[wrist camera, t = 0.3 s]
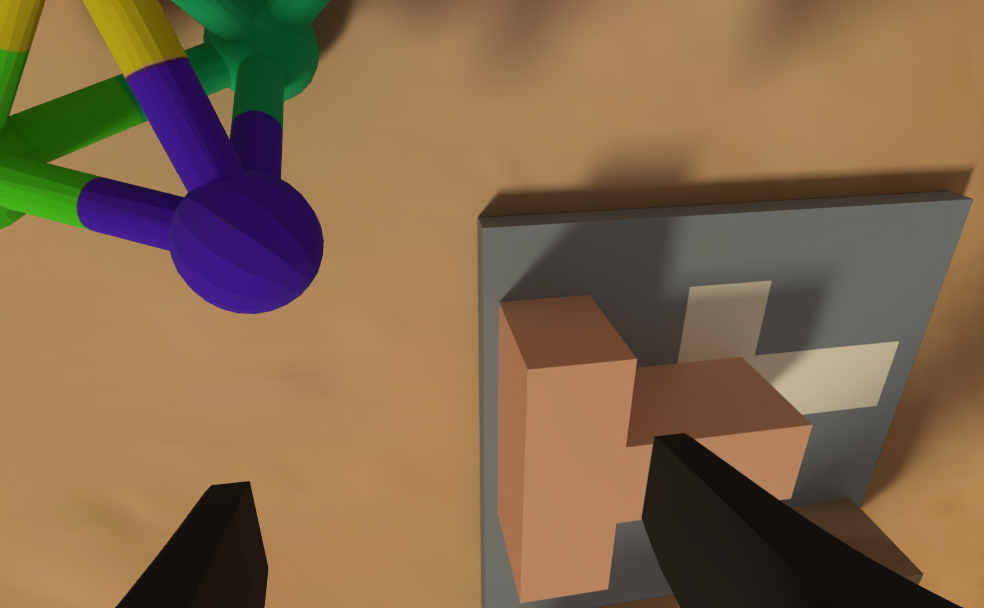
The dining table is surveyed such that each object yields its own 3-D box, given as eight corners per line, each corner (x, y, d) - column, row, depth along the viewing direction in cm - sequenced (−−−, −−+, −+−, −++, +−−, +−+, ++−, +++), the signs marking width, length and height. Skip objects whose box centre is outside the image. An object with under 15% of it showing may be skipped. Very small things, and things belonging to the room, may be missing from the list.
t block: (497, 511, 23) (520, 602, 20) (498, 302, 19) (527, 369, 16) (714, 482, 25) (771, 562, 21) (758, 281, 21) (837, 339, 17)
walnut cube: (827, 562, 29) (892, 641, 25) (749, 575, 28) (804, 658, 24) (850, 498, 27) (923, 573, 23) (767, 510, 26) (829, 589, 23)
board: (824, 550, 30) (838, 567, 29) (481, 605, 27) (485, 625, 26) (948, 191, 22) (973, 199, 21) (477, 217, 19) (482, 228, 18)
